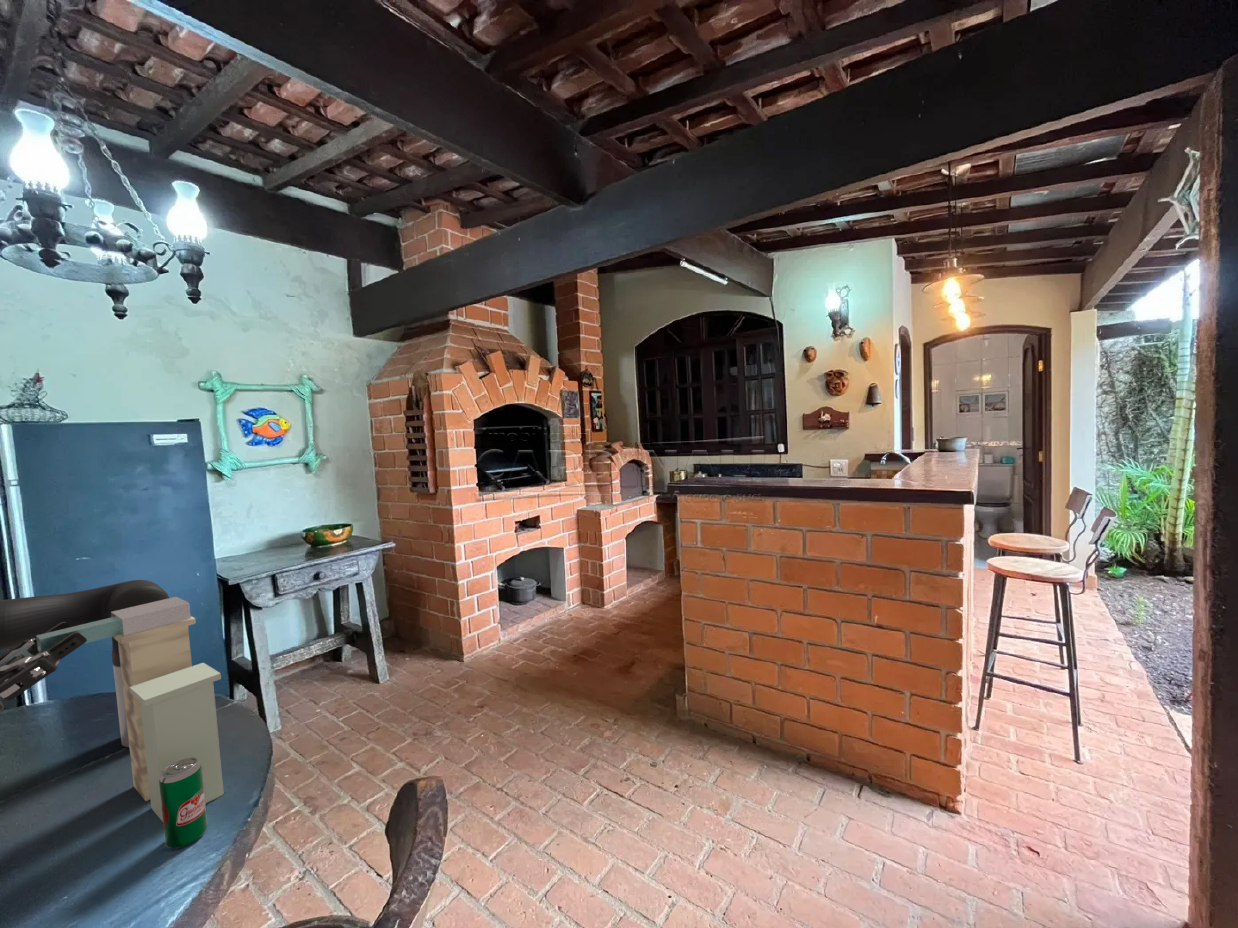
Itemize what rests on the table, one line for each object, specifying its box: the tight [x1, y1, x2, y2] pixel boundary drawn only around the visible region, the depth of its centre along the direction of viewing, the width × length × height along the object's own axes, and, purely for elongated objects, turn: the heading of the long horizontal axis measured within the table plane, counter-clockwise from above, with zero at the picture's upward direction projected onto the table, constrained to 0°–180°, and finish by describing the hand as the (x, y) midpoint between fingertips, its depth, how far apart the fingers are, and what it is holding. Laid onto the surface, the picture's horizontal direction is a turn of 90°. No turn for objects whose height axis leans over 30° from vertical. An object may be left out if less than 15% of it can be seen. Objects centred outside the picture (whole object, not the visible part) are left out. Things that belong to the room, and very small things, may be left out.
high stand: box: [111, 615, 197, 802], centre depth 92 cm, size 8×10×30 cm
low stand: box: [129, 662, 225, 823], centre depth 87 cm, size 8×10×22 cm
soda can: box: [159, 757, 208, 850], centre depth 79 cm, size 5×5×12 cm
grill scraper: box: [36, 596, 192, 654], centre depth 87 cm, size 7×18×3 cm, turn 147°
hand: (75, 630), depth 83 cm, fingers open, 8 cm apart
